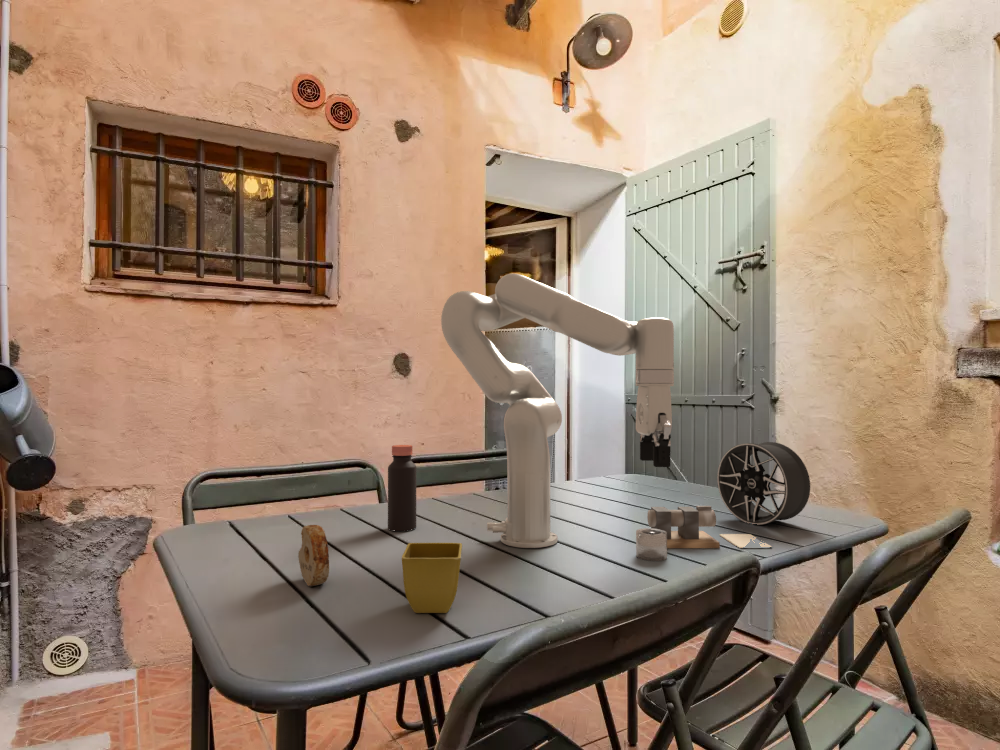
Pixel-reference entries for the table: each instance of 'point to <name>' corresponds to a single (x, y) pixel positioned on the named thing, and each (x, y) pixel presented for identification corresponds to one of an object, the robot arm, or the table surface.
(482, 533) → the table surface
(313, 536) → the stone disc
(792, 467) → the wheel rim
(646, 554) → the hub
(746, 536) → the mat
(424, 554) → the flower pot
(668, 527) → the shaft stand
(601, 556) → the table surface
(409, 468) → the bottle
